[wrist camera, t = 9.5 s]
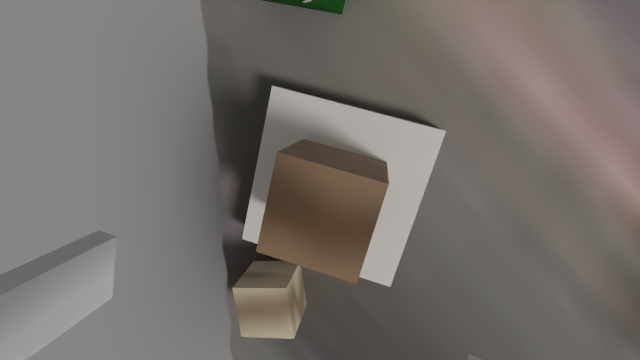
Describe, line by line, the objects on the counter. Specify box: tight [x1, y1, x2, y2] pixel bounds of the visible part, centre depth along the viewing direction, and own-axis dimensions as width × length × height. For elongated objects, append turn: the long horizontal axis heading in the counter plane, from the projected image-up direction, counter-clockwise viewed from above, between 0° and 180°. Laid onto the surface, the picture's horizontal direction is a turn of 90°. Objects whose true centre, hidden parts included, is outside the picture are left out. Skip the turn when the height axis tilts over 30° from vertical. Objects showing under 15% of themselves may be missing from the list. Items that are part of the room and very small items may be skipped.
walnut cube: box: [256, 139, 389, 284], centre depth 23 cm, size 7×7×7 cm
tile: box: [242, 86, 446, 287], centre depth 28 cm, size 14×14×2 cm
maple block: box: [232, 261, 306, 339], centre depth 30 cm, size 5×5×5 cm
